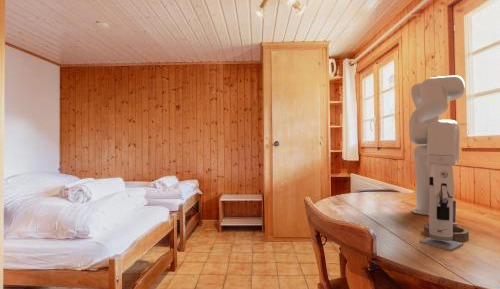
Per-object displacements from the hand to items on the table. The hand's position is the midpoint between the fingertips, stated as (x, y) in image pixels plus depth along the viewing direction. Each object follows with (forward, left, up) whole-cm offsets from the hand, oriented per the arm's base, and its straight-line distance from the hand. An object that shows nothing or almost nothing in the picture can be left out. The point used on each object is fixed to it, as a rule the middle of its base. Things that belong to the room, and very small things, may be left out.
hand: (441, 216), depth 92 cm
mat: (0, 0, -9) cm, 9 cm away
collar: (-11, -3, -9) cm, 14 cm away
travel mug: (0, 0, -7) cm, 7 cm away
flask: (-25, -8, -9) cm, 28 cm away
